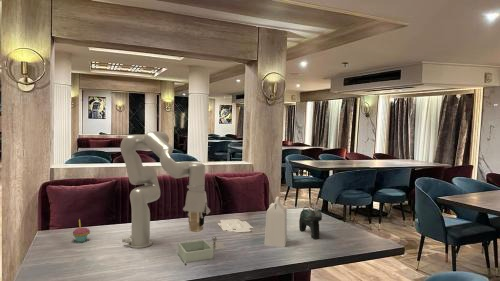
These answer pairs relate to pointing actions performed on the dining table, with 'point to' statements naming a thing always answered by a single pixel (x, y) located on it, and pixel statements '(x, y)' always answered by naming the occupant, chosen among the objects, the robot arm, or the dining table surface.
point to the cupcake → (80, 233)
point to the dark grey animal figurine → (310, 221)
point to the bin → (195, 255)
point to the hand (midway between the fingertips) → (196, 224)
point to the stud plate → (216, 244)
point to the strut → (194, 222)
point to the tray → (234, 225)
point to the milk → (276, 225)
